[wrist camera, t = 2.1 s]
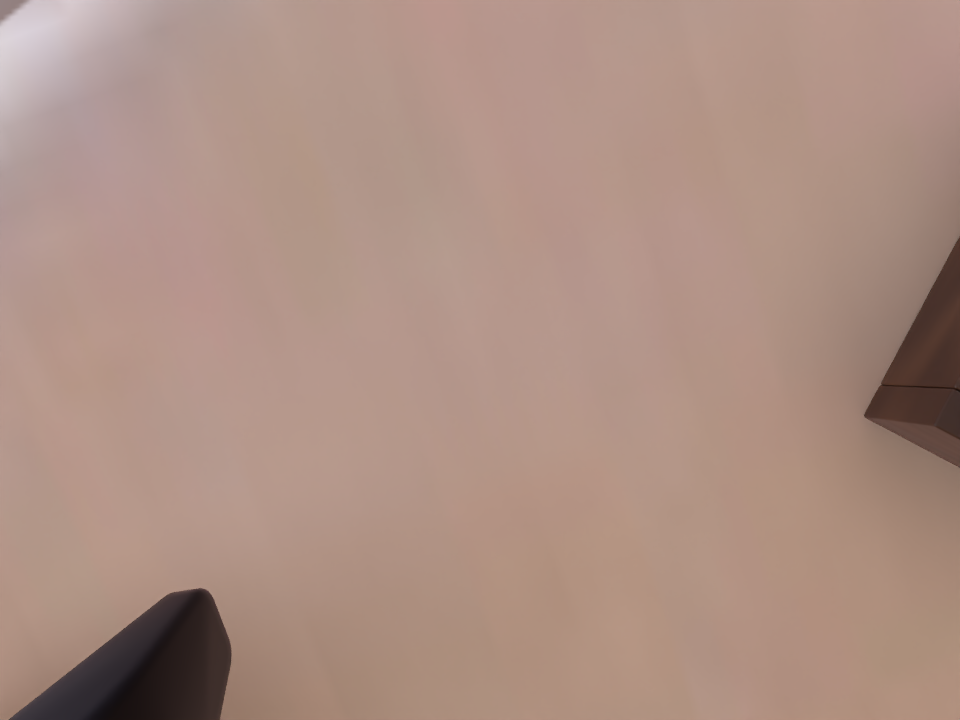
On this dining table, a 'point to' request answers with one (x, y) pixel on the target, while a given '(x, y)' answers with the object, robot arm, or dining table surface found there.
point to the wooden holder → (927, 373)
